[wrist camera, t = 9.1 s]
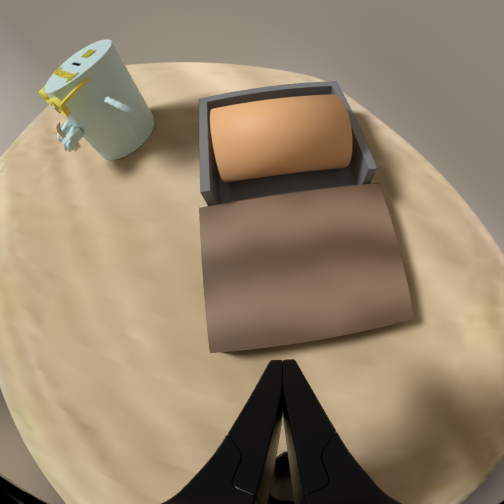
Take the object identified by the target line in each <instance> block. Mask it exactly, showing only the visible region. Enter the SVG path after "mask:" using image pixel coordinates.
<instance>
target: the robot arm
mask: <svg viewBox="0 0 504 504" xmlns="http://www.w3.org/2000/svg"><path fill="white" fill-rule="evenodd" d="M282 417H283V420H284V428H285V435H286V443H287V450H288V452H283V453H282V454H280V455H279V456H277V457H276V455H277V450H278V444H279V438H280V431H281V425H282ZM284 456H288V458H287V459H285V458H284ZM0 504H49V503H47V502H45V501H43V500H42V499H40V498H38V497H37V496H35V495H33V494H31V493H30V492H28V491H26V490H25V489H23V488H21V487H20V486H18V485H17V484H15V483H13V482H12V481H10V480H9V479H7V478H6V477H4V476H3V475H2V474H0ZM162 504H402V503H400V502H398V501H396V500H394V499H393V498H391V497H389V496H388V495H387V494H385V493H384V492H383V491H382V490H381V489H380V488H379V487H378V486H377V485H376V484H375V483H374V481H373V480H372V479H371V478H370V477H369V476H368V474H367V473H366V472H365V471H364V470H363V469H362V467H361V466H360V465H359V464H358V463H357V461H356V460H355V459H354V457H353V456H352V455H351V454H350V452H349V451H348V449H347V448H346V446H345V445H344V443H343V442H342V440H341V438H340V437H339V435H338V433H337V432H336V430H335V428H334V427H333V425H332V423H331V421H330V420H329V418H328V416H327V415H326V413H325V411H324V409H323V408H322V406H321V404H320V403H319V401H318V399H317V397H316V396H315V394H314V392H313V390H312V389H311V387H310V385H309V383H308V382H307V380H306V378H305V376H304V375H303V373H302V371H301V369H300V368H299V366H298V364H297V362H296V361H295V360H294V359H290V360H283V362H282V360H271V361H270V362H269V364H268V366H267V367H266V369H265V371H264V373H263V375H262V376H261V378H260V380H259V382H258V384H257V385H256V387H255V389H254V391H253V392H252V394H251V396H250V398H249V399H248V401H247V403H246V404H245V406H244V408H243V409H242V411H241V413H240V414H239V416H238V418H237V419H236V421H235V423H234V424H233V426H232V428H231V429H230V431H229V433H228V435H226V437H225V439H224V440H223V442H222V443H221V445H220V446H219V448H218V449H217V451H216V452H215V453H214V455H213V456H212V457H211V458H210V460H209V461H208V462H207V463H206V464H205V466H204V467H203V468H202V469H201V470H200V471H199V472H198V473H197V474H196V475H195V476H194V478H193V479H192V480H191V481H190V482H189V483H188V484H187V485H186V486H185V487H184V488H183V489H182V490H181V491H180V492H179V493H177V494H176V495H175V496H174V497H172V498H171V499H169V500H167V501H165V502H164V503H162ZM499 504H504V500H503V501H502V502H500V503H499Z"/></svg>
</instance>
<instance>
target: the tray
mask: <svg viewBox="0 0 504 504" xmlns="http://www.w3.org/2000/svg"><path fill="white" fill-rule="evenodd" d="M330 94H337V95H338V96H340V97H341V99H342V100H343V102H344V104H345V106H346V109H347V111H348V115H349V119H350V123H351V130H352V156H351V161H350V163H349V165H348V167H346V168H337V169H326V170H317V171H307V172H299V173H291V174H283V175H275V176H268V177H261V178H254V179H248V180H241V181H235V182H229V183H224V182H223V180H222V178H221V176H220V173H219V170H218V166H217V163H216V158H215V154H214V149H213V143H212V137H211V128H210V111H211V109H214V108H219V107H224V106H230V105H235V104H241V103H247V102H254V101H261V100H269V99H277V98H287V97H297V96H311V95H330ZM199 156H200V192H201V194H202V196H203V198H204V199H205V201H206V203H207V205H208V206H213V205H218V204H224V203H230V202H236V201H242V200H248V199H254V198H261V197H267V196H274V195H281V194H288V193H295V192H303V191H311V190H319V189H327V188H335V187H344V186H354V185H363V184H370V183H371V180H372V178H373V176H374V174H375V172H376V170H377V167H376V164H375V162H374V159H373V157H372V154H371V152H370V150H369V147H368V145H367V142H366V140H365V138H364V136H363V133H362V131H361V129H360V127H359V125H358V122H357V120H356V118H355V116H354V114H353V112H352V110H351V108H350V106H349V104H348V102H347V100H346V98H345V96H344V94H343V92H342V90H341V89H340V87H339V85H338V83H337V82H336V81H335V82H312V83H298V84H287V85H278V86H269V87H262V88H255V89H248V90H242V91H236V92H231V93H225V94H220V95H215V96H211V97H206V98H202V99H199Z"/></svg>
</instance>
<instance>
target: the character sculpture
mask: <svg viewBox="0 0 504 504" xmlns="http://www.w3.org/2000/svg"><path fill="white" fill-rule="evenodd" d="M39 94H40V95H41V96H42V97H43V99H44V100H45V101H46V102H47V103H48V104H49V105H51V106H52V105H54V106H55V109H56V110H57V111H58V112H59V113H62V114H63V115H64V116H66V117H67V118H68V120H67V121H66V122H65V124H64V125H63V126H62V127H61V129H60V122H59V123H58V124H57V137H58V141H59V143H60V142H61V141H62V143H63V145H64V149H65V151H67V150H68V151H69V152H71V150H73V149H74V150H75V151H77V150H78V149H79V148H80V147H81V146H80V144H79V143H78V141H79V140H80V139H81V138H82V137H84V138H85V139H86V140H87V141H88V142H89V143H90V144H91V146H92V147H93V148H94V149H95V150H96V151H97V152H98V153H99V154H100V155H101V157H102V158H105V159H107V160H116V159H120V158H123V157H125V156H127V155H129V154H131V153H132V152H134V151H135V150H136V149H138V148H139V147H140V146H141V145H142V144H143V143H144V142H145V141H146V140H147V138H148V137H149V136H150V134H151V132H152V130H153V128H154V122H155V120H154V117H153V115H152V113H151V111H150V109H149V108H148V106H147V104H146V102H145V100H144V99H143V97H142V95H141V93H140V92H139V90H138V88H137V86H136V84H135V83H134V81H133V79H132V77H131V76H130V74H129V72H128V70H127V68H126V67H125V65H124V63H123V61H122V60H121V58H120V56H119V54H118V52H117V50H116V48H115V47H114V45H113V43H112V41H111V40H101V41H98V42H95V43H93V44H91V45H89V46H87V47H85V48H83V49H82V50H80V51H79V52H77V53H76V54H74V55H73V56H72V57H70V58H69V59H68V60H67V61H65V62H64V63H63V64H62V65H61V66H60V67H59V68H58V69H57V70H56V71H55V72H54V73H53V75H52V76H51V77H50V79H49V80H48V82H47V83H46V85H45V86H44V87H43V88H42V89H41V90H40V91H39Z"/></svg>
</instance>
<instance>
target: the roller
mask: <svg viewBox="0 0 504 504" xmlns="http://www.w3.org/2000/svg"><path fill="white" fill-rule="evenodd" d="M210 128H211V137H212V143H213V149H214V154H215V158H216V163H217V166H218V170H219V173H220V176H221V178H222V180H223V182H224V183H229V182H235V181H241V180H248V179H254V178H261V177H268V176H275V175H283V174H291V173H299V172H307V171H317V170H326V169H337V168H346V167H348V165H349V163H350V161H351V156H352V130H351V123H350V119H349V115H348V111H347V109H346V106H345V104H344V102H343V100H342V99H341V97H340V96H338V95H337V94H330V95H311V96H297V97H287V98H277V99H269V100H261V101H254V102H247V103H241V104H235V105H230V106H224V107H219V108H214V109H211V111H210Z"/></svg>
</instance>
